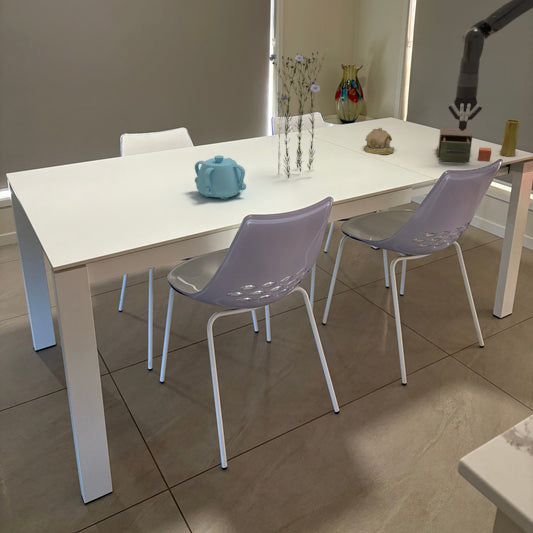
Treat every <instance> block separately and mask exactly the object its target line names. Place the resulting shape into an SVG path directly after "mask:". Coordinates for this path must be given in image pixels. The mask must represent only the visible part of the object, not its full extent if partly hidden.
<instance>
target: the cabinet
mask: <svg viewBox="0 0 533 533" xmlns="http://www.w3.org/2000/svg"><path fill="white" fill-rule="evenodd" d="M438 135H439V137H438V146H437V158H440V151H441V143H442V141H443V137H464V138H469V142H471V143H472V142H473V132H472V128H470V127H469V128H468V127H466V129H464V131H460V129H459V127H449V126H447V127H446V126H440V128H439V134H438Z"/></svg>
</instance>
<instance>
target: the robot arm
mask: <svg viewBox="0 0 533 533" xmlns="http://www.w3.org/2000/svg"><path fill="white" fill-rule="evenodd" d="M532 9H533V0H508V1H507V2H505V3H503V4H502V5H501V6H499V7H497V8H496V9H495V10H494V11H492V12H491V13H490V14H488V15H487V16H486V17H485V18H483V19H481V20H479V21H478V22H476V23H475V24H473V25H471V26H470V27H469V28H467V29H466V30H465V31H464V33H463V34H462V38H461V41H462V43H463V52H462V57H461V58H460V66H459V74H458V77H457V83H456V84H457V86H456V93H455V94H456V95H455V98H454V101H453V103H451V104H449V105H448V106H447V108H448V111H449V112H450V113H451V114H452V116H453V117H454V119H455V120H458V128H459V129H460V131H464V129H466V128H468V127H467V125H468V121H471V120H473V119H475V117H476V116H477V115H478V114H479V113H480V112H481V111H482V109H483V107H482V106H481V105H480V104H479V103H478V100H477V97H478V90H479V89H478V88H479V81H480V68H481V59H482V54H483V51H484V45H485V41H486V39H488V38H489V37H491V36H492V35H495V34H498V33H499V32H500V31H502V30H503V29H504V28H506V27H507V26H509V25H510V24H511V23H514V21H516V20H517V19H518V18H520V17H521V16H524V15H525V14H526V13H527V12H529V11H530V10H532ZM455 109H457V111H458V112H459V115H458V113H457V112H456V110H455ZM473 109H474V111H473V112H472V110H473ZM470 112H472V113H470Z"/></svg>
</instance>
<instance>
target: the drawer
mask: <svg viewBox="0 0 533 533" xmlns="http://www.w3.org/2000/svg"><path fill="white" fill-rule="evenodd" d="M471 150H472V143H471V142H469V138H464V137H443V141H442V143H441V151H440V157H439V161H440V162H452V163H453V162H454V163H455V162H456V163H470V157H471Z"/></svg>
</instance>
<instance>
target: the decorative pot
mask: <svg viewBox="0 0 533 533" xmlns="http://www.w3.org/2000/svg"><path fill="white" fill-rule="evenodd" d="M199 165H200V166H199ZM194 171H195V174H196V176H195V178H194V183H195V186H196V190H197V192H199V193H200V194H201V195H203V196H204V198H220V200H223V199H225V200H229V198H231V197H234V196H236V195H238V194H239V193H241V191H245V190H246V189H247V184H246V183H245V181H244V180H245V176H246V170H245V168H244V166H243V165H240V164H238V163H237V161H236V160H234V159H233V158H231V157H226V158H225V157H224V155H218V154H217V155H215V156H214V157H213V158H209V159H207V160H205V161H204V160H199V161H196V163H195V164H194Z"/></svg>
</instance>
